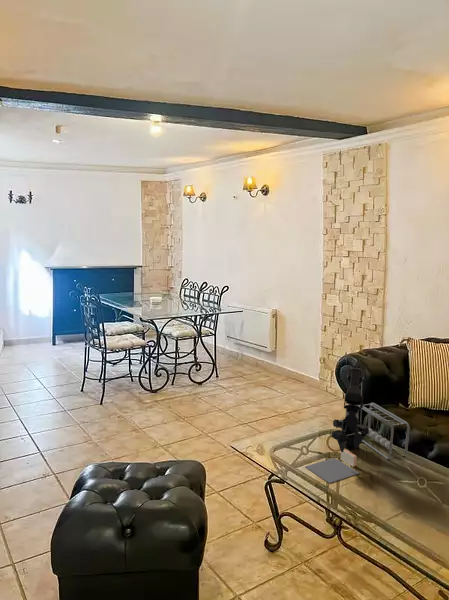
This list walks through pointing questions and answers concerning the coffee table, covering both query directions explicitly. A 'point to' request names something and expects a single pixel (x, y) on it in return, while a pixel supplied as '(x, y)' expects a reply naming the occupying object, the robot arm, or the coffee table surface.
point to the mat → (332, 470)
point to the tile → (348, 458)
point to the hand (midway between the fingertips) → (349, 449)
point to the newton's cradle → (381, 439)
